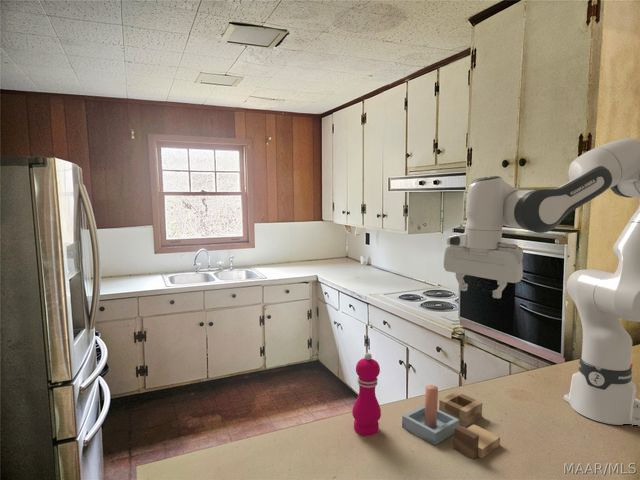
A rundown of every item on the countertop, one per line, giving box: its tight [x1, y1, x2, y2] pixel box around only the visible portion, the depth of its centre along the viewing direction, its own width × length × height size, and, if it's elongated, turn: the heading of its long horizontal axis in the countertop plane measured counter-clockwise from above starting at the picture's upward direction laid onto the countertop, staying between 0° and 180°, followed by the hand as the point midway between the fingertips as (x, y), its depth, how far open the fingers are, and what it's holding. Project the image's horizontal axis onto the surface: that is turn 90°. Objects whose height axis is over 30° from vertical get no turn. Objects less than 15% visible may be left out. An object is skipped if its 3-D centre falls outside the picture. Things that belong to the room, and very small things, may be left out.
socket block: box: [438, 391, 483, 427], centre depth 113 cm, size 8×8×4 cm
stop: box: [453, 425, 479, 459], centre depth 97 cm, size 2×5×5 cm, turn 39°
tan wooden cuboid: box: [465, 424, 501, 459], centre depth 100 cm, size 8×7×2 cm
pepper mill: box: [351, 352, 382, 437], centre depth 105 cm, size 7×7×20 cm
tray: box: [401, 404, 460, 446], centre depth 106 cm, size 10×10×3 cm
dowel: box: [424, 384, 439, 428], centre depth 106 cm, size 3×3×10 cm
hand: (479, 293), depth 108 cm, fingers open, 8 cm apart
